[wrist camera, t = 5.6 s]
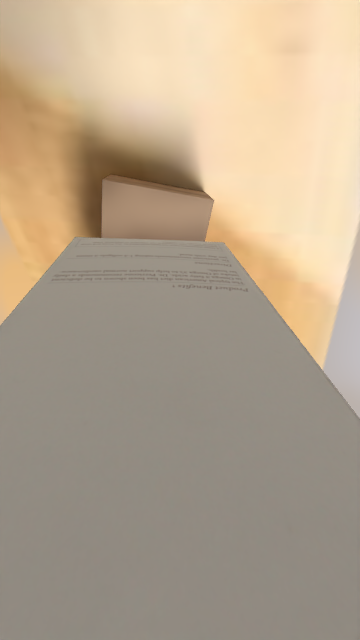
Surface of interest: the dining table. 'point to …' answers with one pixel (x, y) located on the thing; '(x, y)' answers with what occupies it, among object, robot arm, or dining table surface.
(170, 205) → the walnut block
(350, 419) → the supplement box
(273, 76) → the dining table surface
